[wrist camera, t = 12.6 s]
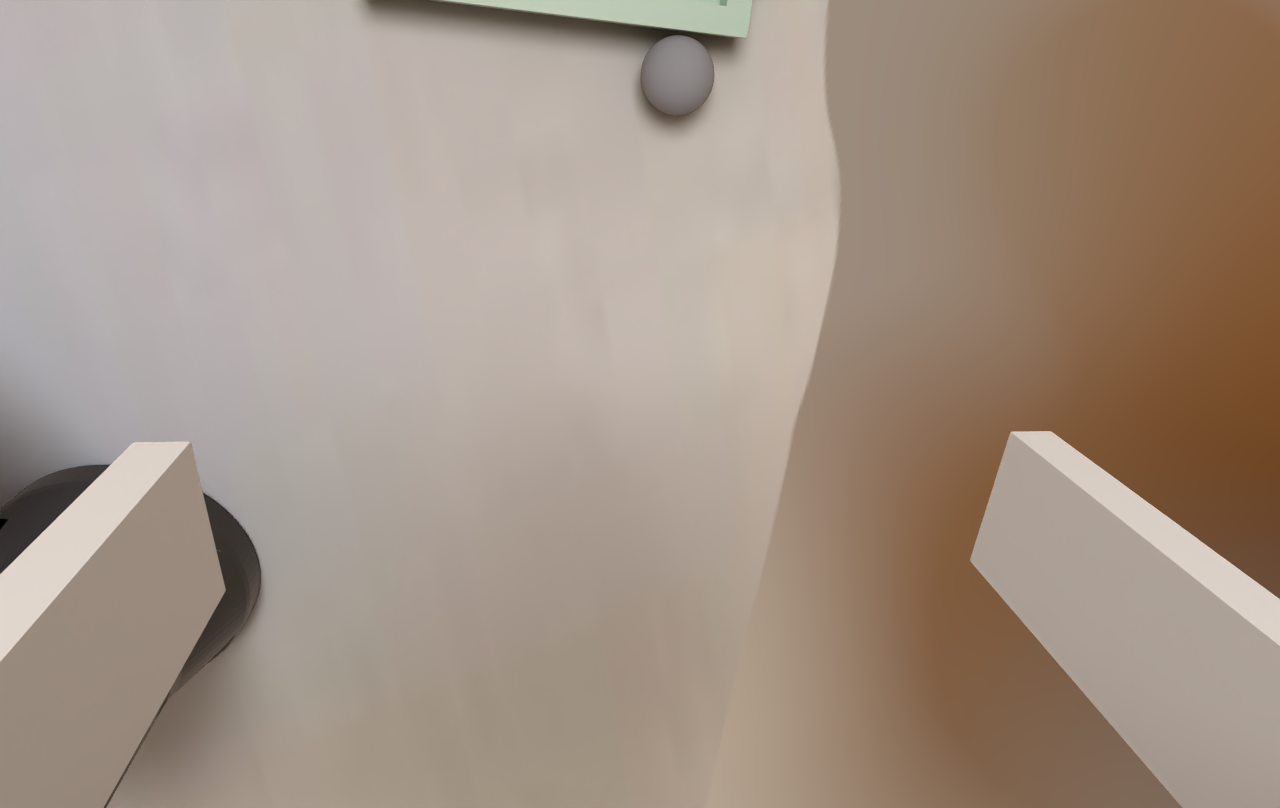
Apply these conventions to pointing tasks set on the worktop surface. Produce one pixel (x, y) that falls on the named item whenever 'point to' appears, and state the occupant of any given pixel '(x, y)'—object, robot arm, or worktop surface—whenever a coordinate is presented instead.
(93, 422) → the worktop surface
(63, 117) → the worktop surface
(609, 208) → the worktop surface
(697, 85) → the gray ball
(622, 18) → the tray
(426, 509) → the worktop surface
